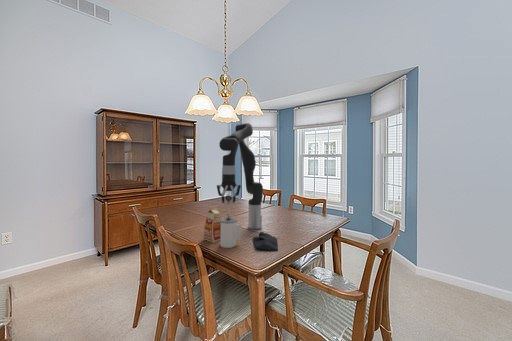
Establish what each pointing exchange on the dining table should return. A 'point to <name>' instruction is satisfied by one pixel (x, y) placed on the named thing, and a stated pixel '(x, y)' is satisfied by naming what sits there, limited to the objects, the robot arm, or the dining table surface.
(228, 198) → the plunger
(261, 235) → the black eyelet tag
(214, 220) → the milk carton
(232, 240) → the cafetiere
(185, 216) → the dining table surface
